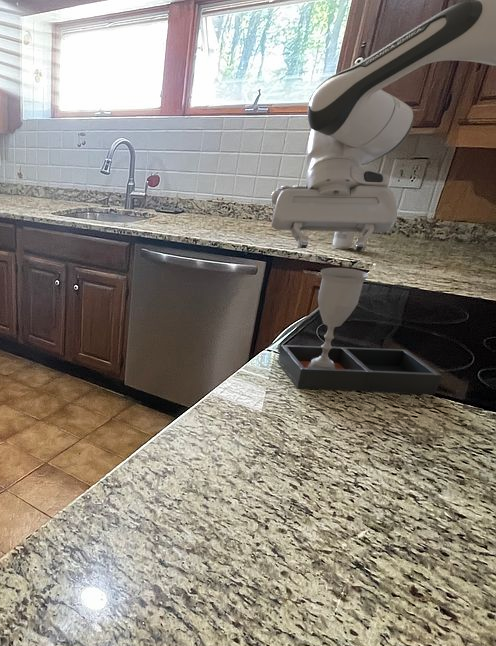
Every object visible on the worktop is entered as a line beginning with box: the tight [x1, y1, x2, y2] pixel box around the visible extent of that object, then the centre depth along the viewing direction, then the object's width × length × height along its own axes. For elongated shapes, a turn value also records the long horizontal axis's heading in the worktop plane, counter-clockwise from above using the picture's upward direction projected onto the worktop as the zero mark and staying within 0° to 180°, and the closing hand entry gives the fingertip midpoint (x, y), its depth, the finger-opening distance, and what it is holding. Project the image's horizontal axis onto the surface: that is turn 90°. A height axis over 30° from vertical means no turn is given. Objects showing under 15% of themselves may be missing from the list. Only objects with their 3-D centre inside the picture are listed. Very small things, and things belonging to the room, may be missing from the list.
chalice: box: [306, 267, 369, 369], centre depth 90 cm, size 7×7×18 cm
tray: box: [277, 344, 443, 396], centre depth 92 cm, size 21×11×4 cm, turn 81°
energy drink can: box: [332, 231, 356, 250], centre depth 189 cm, size 6×6×15 cm
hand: (331, 247), depth 96 cm, fingers open, 8 cm apart
